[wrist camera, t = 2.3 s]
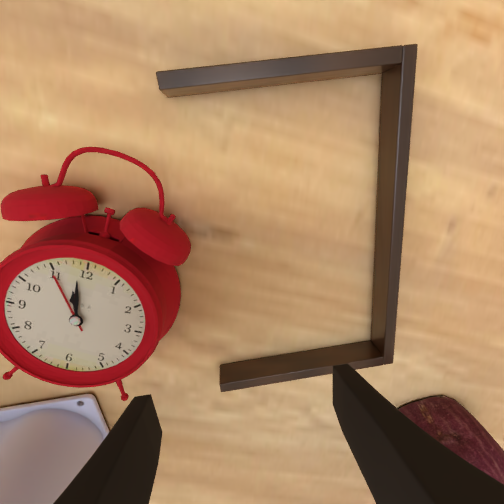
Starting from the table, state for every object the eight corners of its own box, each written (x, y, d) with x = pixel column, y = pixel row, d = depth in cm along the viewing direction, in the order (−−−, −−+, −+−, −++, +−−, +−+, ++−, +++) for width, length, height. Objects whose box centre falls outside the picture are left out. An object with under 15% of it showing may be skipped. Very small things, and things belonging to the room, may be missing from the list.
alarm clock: (-33, 387, 16) (-108, 128, 9) (36, 312, 22) (24, 110, 14) (146, 417, 18) (205, 226, 11) (168, 341, 24) (218, 178, 16)
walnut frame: (221, 372, 22) (221, 392, 20) (163, 81, 15) (155, 71, 13) (379, 346, 23) (393, 363, 21) (395, 56, 16) (418, 43, 14)
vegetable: (386, 366, 28) (560, 515, 13) (474, 397, 29) (733, 572, 14) (348, 460, 28) (475, 710, 13) (436, 488, 29) (649, 755, 14)
